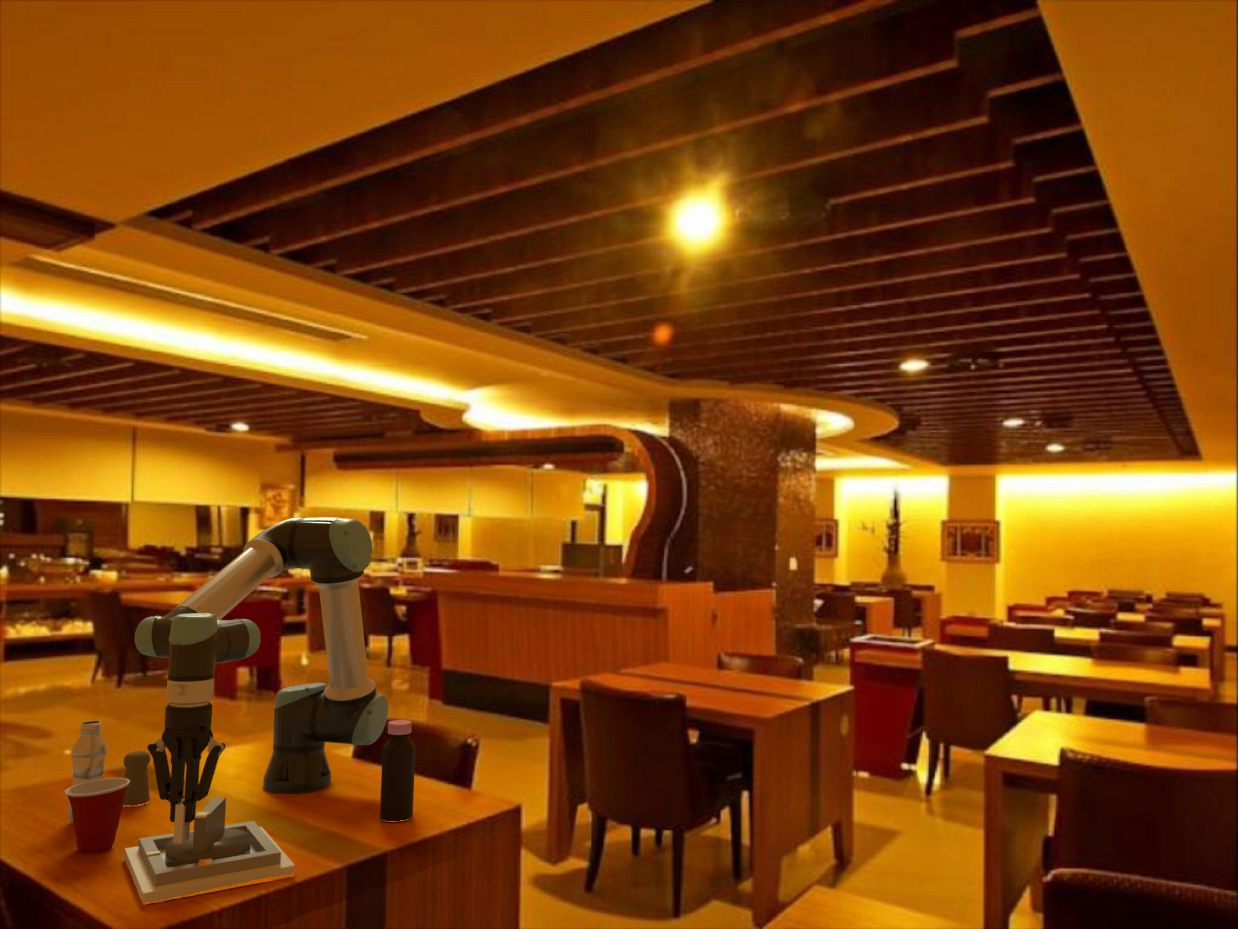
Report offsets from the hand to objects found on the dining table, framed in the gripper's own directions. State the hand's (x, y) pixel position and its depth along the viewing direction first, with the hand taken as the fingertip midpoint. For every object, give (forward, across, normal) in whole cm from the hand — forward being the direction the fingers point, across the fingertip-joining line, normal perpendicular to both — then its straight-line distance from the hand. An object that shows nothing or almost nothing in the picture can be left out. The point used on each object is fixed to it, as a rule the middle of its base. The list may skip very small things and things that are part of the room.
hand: (181, 840), depth 161 cm
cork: (+7, -30, +42) cm, 52 cm away
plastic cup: (+7, -23, +14) cm, 27 cm away
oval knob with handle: (+5, +2, +6) cm, 8 cm away
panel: (+7, +2, +6) cm, 9 cm away
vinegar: (+6, +29, +36) cm, 47 cm away
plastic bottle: (+7, -33, +28) cm, 44 cm away
